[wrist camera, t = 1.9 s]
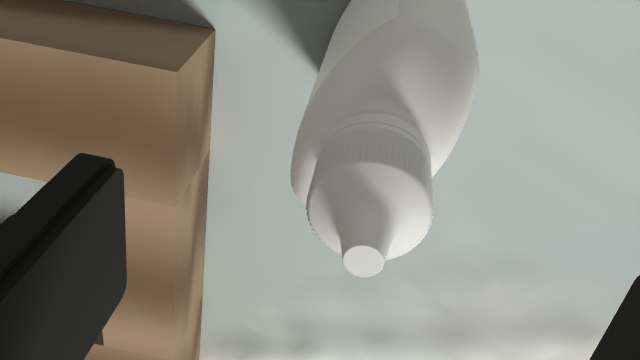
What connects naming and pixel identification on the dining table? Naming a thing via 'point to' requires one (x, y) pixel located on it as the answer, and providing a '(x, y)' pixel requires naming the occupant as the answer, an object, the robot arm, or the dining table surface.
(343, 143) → the eye dropper bottle
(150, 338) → the socket block
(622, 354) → the robot arm
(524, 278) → the dining table surface
